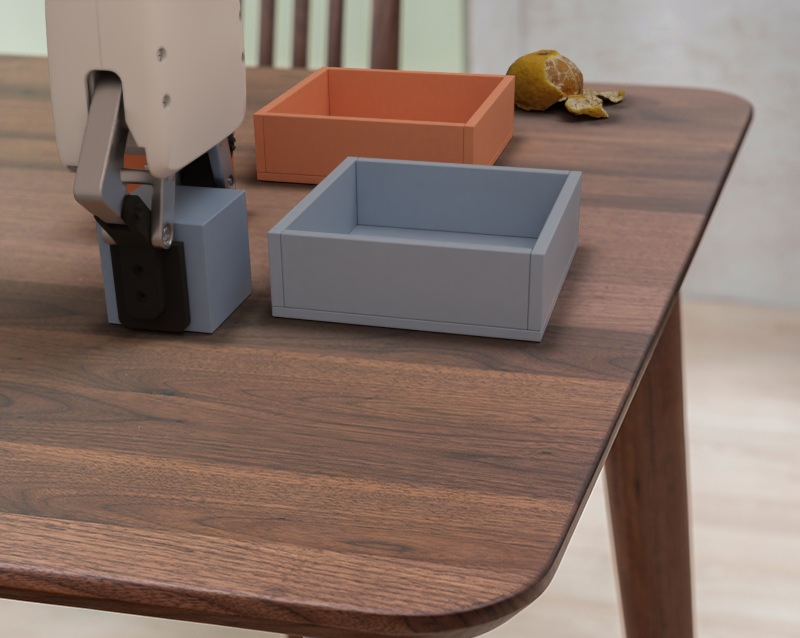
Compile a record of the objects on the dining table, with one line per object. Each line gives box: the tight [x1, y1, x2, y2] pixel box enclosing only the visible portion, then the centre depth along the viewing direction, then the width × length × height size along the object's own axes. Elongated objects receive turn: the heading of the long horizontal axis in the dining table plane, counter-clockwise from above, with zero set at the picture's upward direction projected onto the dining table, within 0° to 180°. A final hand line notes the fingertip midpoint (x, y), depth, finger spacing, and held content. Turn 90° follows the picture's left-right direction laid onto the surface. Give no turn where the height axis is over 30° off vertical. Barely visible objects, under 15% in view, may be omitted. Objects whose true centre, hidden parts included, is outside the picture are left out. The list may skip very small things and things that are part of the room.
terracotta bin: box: [252, 66, 515, 185], centre depth 79 cm, size 13×13×4 cm
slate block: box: [95, 185, 253, 334], centre depth 57 cm, size 5×5×5 cm
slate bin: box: [266, 157, 583, 343], centre depth 60 cm, size 12×12×4 cm
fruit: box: [505, 49, 626, 119], centre depth 90 cm, size 8×8×4 cm
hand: (181, 298), depth 58 cm, fingers closed on slate block, 5 cm apart
